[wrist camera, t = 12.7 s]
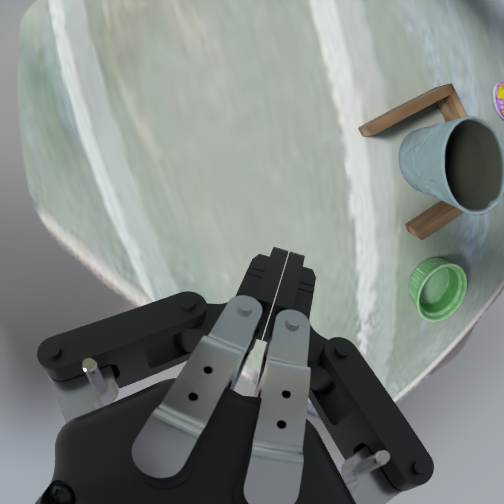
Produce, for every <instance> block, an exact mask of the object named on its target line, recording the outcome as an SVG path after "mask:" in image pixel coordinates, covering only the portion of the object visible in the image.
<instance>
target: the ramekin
mask: <svg viewBox="0 0 504 504" xmlns="http://www.w3.org/2000/svg"><path fill="white" fill-rule="evenodd" d="M466 288H467V278H466V275H465V272H464V271H463V269H462V268H461V267H460V266H458V265H457V264H454V263H450V262H448V261H446V260H444V259H442V258H438V257H434V258H430V259H427V260H425V261H423V262H422V263H421V264H420V265H419V266H418V267H417V268H416V269H415V271H414V272H413V274H412V276H411V279H410V282H409V288H408V289H409V295H410V298H411V300H412V302H413V303H414V304H415V306H416V307H417V310H418V312H419V314H420V315H421V317H422V318H424V319H425V320H427V321H430V322H437V321H441V320H444V319H446V318H447V317H449V316H450V315H452V314H453V313H454V312H455V311H456V310H457V308H458V307H459V306H460V304H461V303H462V301H463V299H464V296H465V293H466Z"/></svg>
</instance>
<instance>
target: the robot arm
mask: <svg viewBox="0 0 504 504" xmlns="http://www.w3.org/2000/svg"><path fill="white" fill-rule="evenodd" d="M287 255H288V251H286V250H283V249H280V248H276V247H273V250H272V252H271V255H270V257H268V256H265V255H262V254H259V255H257V256H256V257H255V258H253V259H252V261H251V263H250V265H249V268H248V270H247V272H246V274H245V276H244V279H243V281H242V283H241V285H240V288H239V290H238V292H237V294H236V296H235V297H233V298H232V299H230V300H229V302H227V303H224V304H207V303H206V301H205V299H204V298H203V297H202V296H201V295H199V294H197V293H195V292H189V291H188V292H181V293H178V294H175V295H172V296H169V297H167V298H164V299H161V300H158V301H155V302H152V303H149V304H147V305H144V306H141V307H138V308H135V309H132V310H129V311H127V312H123V313H121V314H118V315H115V316H112V317H109V318H106V319H103V320H100V321H97V322H94V323H92V324H89V325H85V326H82V327H80V328H77V329H74V330H71V331H68V332H65V333H62V334H59V335H56V336H53V337H50V338H48V339H46V340H45V341H43V342H42V343H41V345H40V346H39V348H38V353H37V357H38V360H39V362H40V364H41V365H42V367H43V368H44V370H45V371H46V374H47V375H48V377H49V378H50V380H51V381H52V383H53V385H54V388H55V391H56V395H57V398H58V401H59V404H60V407H61V410H62V412H63V416H64V418H65V421H66V424H65V425H64V426H63V427H62V429H61V430H60V432H59V434H58V436H57V439H56V444H55V469H54V474H53V478H52V481H51V483H50V485H49V486H48V488H47V489H46V490H45V492H44V493H43V494H42V496H41V497H40V498H39V499H38V500H37V502H36V503H35V504H385V503H386V502H388V501H389V500H391V499H392V498H393V497H394V496H396V495H397V494H399V493H401V492H404V491H407V490H409V489H412V488H415V487H417V486H420V485H422V484H424V483H426V482H427V481H428V480H429V479H430V478H431V476H432V474H433V470H434V464H433V460H432V458H431V457H430V455H429V453H428V452H427V450H426V449H425V447H424V446H423V444H422V443H421V441H420V440H419V438H418V437H417V435H416V434H415V432H414V431H413V429H412V428H411V426H410V425H409V423H408V422H407V420H406V419H405V417H404V416H403V415H402V413H401V411H400V410H399V408H398V407H397V406H396V404H395V403H394V401H393V400H392V398H391V397H390V395H389V394H388V392H387V391H386V390H385V388H384V387H383V385H382V384H381V382H380V381H379V379H378V378H377V377H376V375H375V374H374V372H373V371H372V369H371V368H370V367H369V365H368V364H367V362H366V361H365V359H364V358H363V357H362V355H361V354H360V352H359V351H358V350H357V348H356V347H355V345H354V344H353V343H352V342H350V341H349V340H347V339H345V338H341V337H334V338H331V339H330V340H327V339H326V338H324V337H322V336H320V335H319V334H318V333H316V332H315V331H314V330H313V328H312V327H311V325H310V321H309V316H310V311H311V305H312V299H313V293H314V286H315V280H316V277H315V274H314V272H313V270H312V269H309V268H306V267H303V262H304V258H305V256H303V255H300V254H297V253H293V252H290V253H289V256H288V260H287V263H286V266H285V270H284V273H283V276H282V280H281V283H280V286H279V289H278V293H277V296H276V299H275V303H274V306H273V309H272V312H271V316H270V319H269V322H268V325H267V328H266V332H265V335H264V338H263V341H266V342H267V344H266V347H265V351H264V353H263V356H262V361H261V365H260V370H259V375H258V379H257V384H256V389H255V393H254V396H253V397H250V396H242V395H240V394H238V393H237V392H235V391H234V388H235V386H236V384H237V381H238V379H239V377H240V375H241V373H242V371H243V368H244V366H245V364H246V362H247V360H248V358H249V355H250V353H251V350H252V349H253V348H254V345H255V342H256V339H259V340H261V339H262V336H263V333H264V330H265V327H266V323H267V320H268V317H269V314H270V311H271V308H272V304H273V301H274V298H275V295H276V291H277V288H278V285H279V282H280V278H281V275H282V272H283V268H284V265H285V262H286V258H287ZM187 360H188V361H187ZM185 361H187V363H186V364H185V366H184V367H183V369H182V371H181V372H180V374H179V376H178V377H177V378H173V379H168V380H164V381H161V382H158V383H156V384H154V385H152V386H150V387H147V388H145V389H143V390H141V391H139V392H136V393H134V394H132V395H130V396H127V397H125V398H123V399H120V400H118V401H116V402H113V401H114V400H115V399H116V398H117V396H118V393H119V388H122V387H124V386H127V385H129V384H132V383H135V382H137V381H140V380H142V379H144V378H147V377H149V376H152V375H154V374H157V373H159V372H162V371H164V370H166V369H169V368H171V367H173V366H176V365H178V364H180V363H183V362H185ZM308 397H309V399H310V401H311V403H312V404H313V406H314V408H315V409H316V411H317V413H318V415H319V416H320V418H321V420H322V421H323V423H324V425H325V427H326V428H327V430H328V432H329V433H330V435H331V437H332V439H333V440H334V442H335V444H336V445H337V447H338V449H339V450H340V452H341V454H342V455H343V457H344V459H345V461H344V462H343V465H342V467H341V474H342V477H343V478H342V477H341V474H340V473H339V471H338V469H337V467H336V465H335V463H334V461H333V460H332V458H331V456H330V454H329V452H328V450H327V448H326V447H325V444H324V443H323V441H322V439H321V437H320V435H319V434H318V431H317V430H316V428H315V427H314V426H313V425H312V424H311V423H310V421H308V420H307V419H306V415H307V406H308ZM112 402H113V403H112ZM110 403H111V404H110ZM108 404H109V405H108Z"/></svg>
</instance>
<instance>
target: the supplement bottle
mask: <svg viewBox="0 0 504 504" xmlns="http://www.w3.org/2000/svg"><path fill="white" fill-rule="evenodd" d="M493 103H494V106H495V109H496V111H497V113H498V114H499V115H500V117H501V118H502V119H504V82H499V83H497V84H496V85H495V86H494V89H493Z"/></svg>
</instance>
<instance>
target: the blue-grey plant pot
mask: <svg viewBox="0 0 504 504" xmlns="http://www.w3.org/2000/svg"><path fill="white" fill-rule="evenodd" d="M399 167H400V170H401V173H402V174H403V177H404V179H406V181H407V182H408V183H409V184H410V185H411V186H412V187H413V188H415V189H416V190H419V191H421V192H424V193H426V194H430V195H433V196H434V197H436V198H438V199H440V200H442V201H444V202H446V203H448V204H450V205H452V206H454V207H456V208H458V209H460V210H462V211H463V212H465V213H467V214H470V215H482V214H485V213H487V212H489V211H490V210H491V209H493V208H494V207H495V206H496V204H497V203H498V202H499V200H500V199H501V197H502V195H503V192H504V145H503V142H502V140H501V138H500V136H499V135H498V133H497V132H496V130H495V129H494V128H493V127H492V126H491V125H490V124H489V123H488V122H486V121H485V120H483V119H481V118H478V117H475V116H465V117H462V118H458V119H455V120H451V121H447V122H445V123H442V124H436V125H433V126H432V127H425V128H422V129H417V130H414V131H413V132H411V133H409V134H408V135H407V136H406V137H405V139H404V140H403V142H402V144H401V147H400V150H399Z"/></svg>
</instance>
